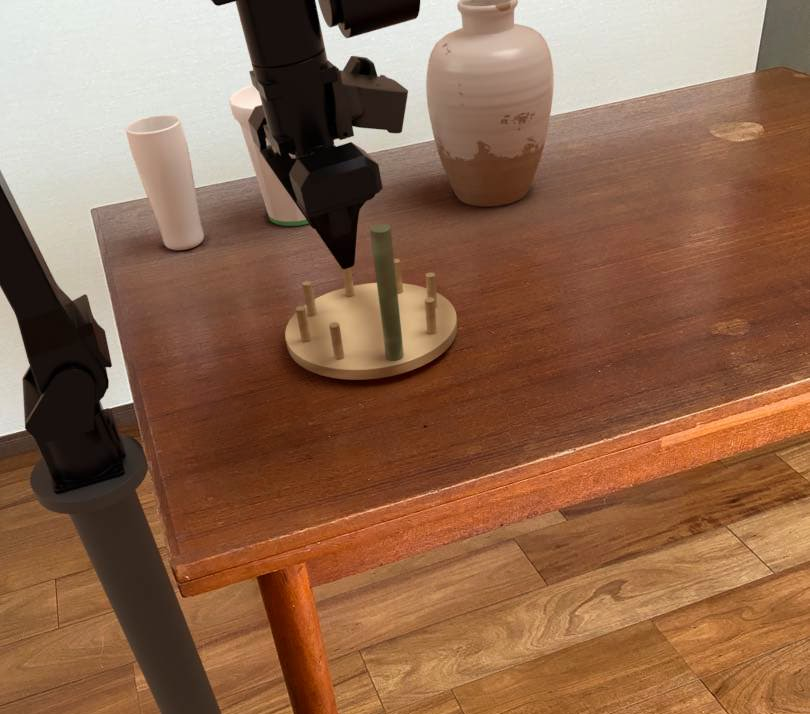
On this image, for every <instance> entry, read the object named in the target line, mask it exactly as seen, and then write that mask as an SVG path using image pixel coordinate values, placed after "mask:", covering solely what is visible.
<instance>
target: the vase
mask: <svg viewBox="0 0 810 714" xmlns="http://www.w3.org/2000/svg"><path fill="white" fill-rule="evenodd" d="M518 4H519V0H458V2H457V5H456V7H457V10H458V11H457V12H459V13H460V15H461V28H458V29H456V30H453V31H451V32H448V33H446V34H445V35H443V37H441V38H440V39H439V40H438V41H436V42H435V44H434V47H433V48H432V50H431V51H430V54H429V57H428V62H427V68H426V79H425V86H426V87H425V89H426V91H425V92H426V93H425V94H426V102H427V103H426V104H427V110H428V116H429V121H430V126H431V130H432V134H433V139H434V143H435V146H436V150H437V153H438V157H439V160H440V162H441V165H442V168H443V170H444V172H445V174H446V178H447V179H448V182H449V184H450V187H451V188H452V190H453V192H454V194H455V196H456V197H457V199H458V200H459V201H460V202H462V203H464V204H467V205H471V206H475V207H485V208H486V207H500V206H505V205H509V204H512V203H515V202H518V201H520V200H522V199H523V198H524V197H526V195H527V194H528V192H529V190H530V188H531V186H532V183H533V181H534V178H535V176H536V173H537V170H538V168H539V165H540V162H541V159H542V155H543V151H544V148H545V145H546V139H547V135H548V131H549V126H550V125H549V124H550V118H551V114H552V113H551V112H552V107H553V98H554V87H555V86H554V85H555V84H554V83H555V82H554V79H555V77H554V66H553V59H552V58H553V57H552V54H551V51H550V48H549V45H548V42H547V41H546V38H544V36H543V35H542V34H541V33H540V32H539V31H538V30H535V29H534V28H533V27H529V26H527V25H522V24H518V23H515V11H516V10H515V9H516V7H517V6H518Z"/></svg>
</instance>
